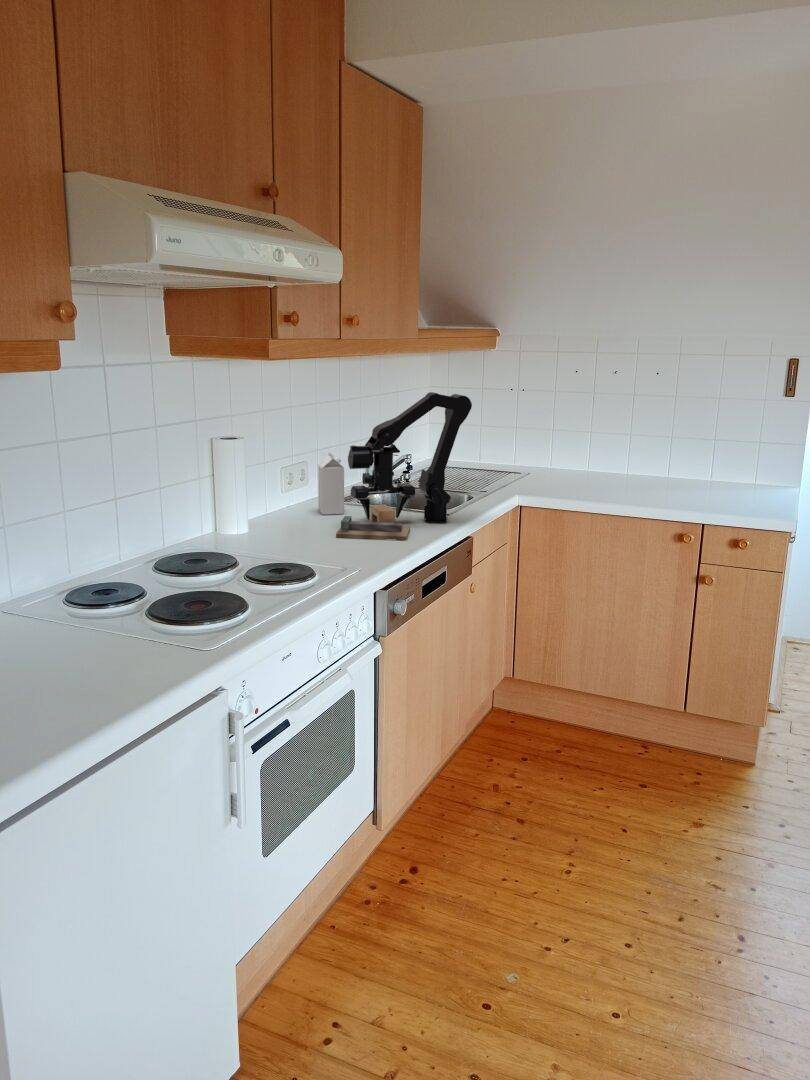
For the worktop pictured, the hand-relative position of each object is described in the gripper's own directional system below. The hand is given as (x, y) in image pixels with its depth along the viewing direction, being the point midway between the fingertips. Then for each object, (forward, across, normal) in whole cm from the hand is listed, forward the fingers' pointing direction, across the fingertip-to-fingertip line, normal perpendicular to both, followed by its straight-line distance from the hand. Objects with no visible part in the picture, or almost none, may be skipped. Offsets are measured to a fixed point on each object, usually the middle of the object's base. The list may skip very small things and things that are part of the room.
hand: (382, 518), depth 254 cm
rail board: (+2, +6, +11) cm, 13 cm away
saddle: (+2, 0, 0) cm, 2 cm away
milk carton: (+2, +11, -19) cm, 22 cm away
